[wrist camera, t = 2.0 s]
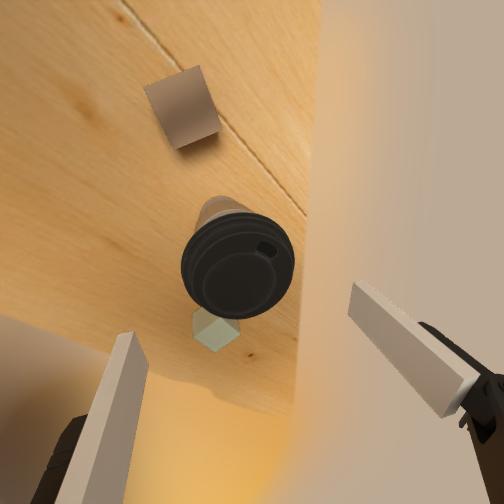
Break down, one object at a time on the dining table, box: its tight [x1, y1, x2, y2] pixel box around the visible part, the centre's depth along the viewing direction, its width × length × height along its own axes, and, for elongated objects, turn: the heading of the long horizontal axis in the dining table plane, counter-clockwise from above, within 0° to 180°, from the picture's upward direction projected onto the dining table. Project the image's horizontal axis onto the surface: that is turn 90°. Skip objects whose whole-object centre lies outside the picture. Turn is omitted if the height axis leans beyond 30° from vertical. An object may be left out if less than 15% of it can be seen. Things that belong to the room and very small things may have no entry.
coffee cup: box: [181, 196, 295, 320], centre depth 23 cm, size 9×9×15 cm
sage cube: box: [192, 307, 241, 353], centre depth 35 cm, size 5×5×5 cm
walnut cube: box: [143, 65, 223, 150], centre depth 22 cm, size 5×5×5 cm
